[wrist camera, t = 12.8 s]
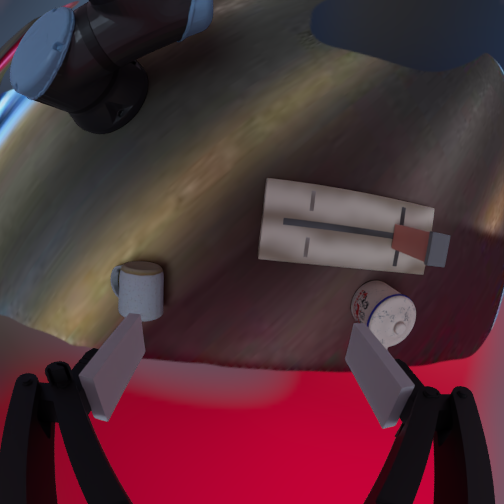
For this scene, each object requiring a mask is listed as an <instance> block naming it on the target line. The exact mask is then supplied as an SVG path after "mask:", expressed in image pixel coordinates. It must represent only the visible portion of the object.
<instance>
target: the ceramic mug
mask: <svg viewBox="0 0 504 504" xmlns="http://www.w3.org/2000/svg"><path fill="white" fill-rule="evenodd" d="M120 269H121V271H120V277H119V286H118V274H119V270H120ZM111 286H112V289H113V291H114V293H115V294H116V296H117V297H118V298H119V306H118V309H119V313H120V314H121V315H122V316H124V317H125V318H126V316H127V315H128V314H129V313H134V314H141V321H151V320H155V319H157V318H159V317H161V316H162V314H163V286H164V274H163V269H162V268H161V267H160V266H159V265H158V264H155V263H151V262H146V261H132V262H127V263H125V264H124V265H119V266H116V267H115V268H114V269H113V270H112V273H111Z"/></svg>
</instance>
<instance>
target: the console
mask: <svg viewBox="0 0 504 504" xmlns="http://www.w3.org/2000/svg"><path fill="white" fill-rule="evenodd" d="M433 217H434V208H430V207H426V206H422V205H418V204H414V203H410V202H405V201H401V200H396V199H392V198H387V197H382V196H377V195H372V194H367V193H362V192H357V191H351V190H346V189H340V188H334V187H328V186H322V185H316V184H309V183H302V182H295V181H288V180H280V179H272V178H267V179H266V185H265V194H264V203H263V212H262V220H261V229H260V238H259V247H258V259H264V260H274V261H284V262H294V263H305V264H315V265H325V266H336V267H346V268H357V269H367V270H378V271H389V272H400V273H411V274H422V275H423V273H424V269H425V264H424V262H423V261H421V260H418V259H416V258H414V257H411V256H409V255H407V254H404V253H402V252H399V251H397V250H395V249H392V242H393V236H394V230H395V224H398V225H403V226H409V227H413V228H417V229H421V230H425V231H429V232H430V231H432V224H433Z"/></svg>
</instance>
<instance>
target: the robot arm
mask: <svg viewBox="0 0 504 504" xmlns="http://www.w3.org/2000/svg"><path fill="white" fill-rule="evenodd" d="M212 18H213V0H89V2H87V3H85V4H84V5H82V6H81V7H79V8H77V9H76V10H74V11H73V10H72V9H70V8H66V7H59V8H55V9H52V10H50V11H48V12H47V13H46V14H44V15H43V16H41V17H40V18H39V19H38V20H37V21H36V22H35V23H34V24H33V25H32V26H31V27H30V29H29V30H28V31H27V33H26V34H25V35H24V37H23V38H22V40H21V42H20V44H19V46H18V48H17V50H16V52H15V54H14V57H13V60H12V64H11V69H10V81H11V84H12V87H13V88H14V90H15V91H16V92H18V93H20V94H22V95H24V96H26V97H27V98H28V99H31V100H34V101H37V102H40V103H43V104H46V105H49V106H52V107H55V108H58V109H60V110H63V111H66V112H68V113H69V114H70V116H71V117H72V118H73V119H74V121H75V123H76V124H77V125H78V126H79V127H80V128H82V129H84V130H86V131H89V132H91V133H95V134H105V133H110V132H113V131H115V130H117V129H119V128H121V127H122V126H124V125H125V124H126V123H128V122H129V121H130V120H131V119H132V118H133V117H134V116H135V115H136V113H137V112H138V111H139V109H140V108H141V106H142V104H143V102H144V100H145V97H146V94H147V89H148V78H147V74H146V72H145V70H144V68H143V67H142V66H141V65H140V64H139V63H138V62H137V61H136V59H138V58H140V57H142V56H144V55H146V54H149V53H151V52H153V51H155V50H157V49H160V48H162V47H164V46H167V45H169V44H171V43H174V42H176V41H177V42H181V41H183V40H184V39H185V38H187V37H189V36H192V35H194V34H197V33H200V32H202V31H204V30H205V29H207V27H208V26H209V25H210V23H211V21H212ZM144 353H145V346H144V338H143V331H142V322H141V314H134V313H129V314H128V315H127V316H126V318H125V319H124V320H123V321H122V322H121V324H120V325H119V326H118V327H117V328H116V329H115V331H114V332H113V333H112V334H111V335H110V337H109V338H108V339H107V340H106V342H105V343H104V344H103V345H102V346H101V348H100V349H96V348H93V349H91V350H89V351H88V352H86V353H85V355H84V356H83V357H82V359H80V360H79V362H78V363H77V364H76V365H75V366H74V368H73V369H72V370H71V368H70V366H69V364H67V363H65V362H61V361H59V362H54V363H51V364H49V365H48V366H47V367H46V369H45V374H46V376H47V379H48V381H49V383H41V382H39V381H38V378H37V377H36V375H34V374H30V373H26V374H22V375H20V376H19V377H18V378H17V380H16V382H15V386H14V389H13V393H12V396H11V400H10V404H9V408H8V412H7V417H6V421H5V426H4V431H3V437H2V443H1V449H0V504H57V495H56V483H55V463H54V437H55V422H57V423H59V427H60V430H61V434H62V437H63V441H64V444H65V447H66V450H67V453H68V456H69V459H70V462H71V465H72V467H73V470H74V473H75V475H76V478H77V480H78V483H79V485H80V487H81V490H82V492H83V494H84V496H85V499H86V501H87V503H88V504H133V503H132V502H131V500H130V498H129V497H128V495H127V494H126V492H125V490H124V489H123V487H122V485H121V483H120V482H119V480H118V478H117V476H116V474H115V473H114V471H113V469H112V467H111V465H110V463H109V461H108V459H107V457H106V455H105V453H104V451H103V449H102V447H101V444H100V442H99V440H98V438H97V435H96V433H95V431H94V428H93V426H92V424H91V421H90V419H89V416H88V414H89V413H90V411H92V413H93V415H94V418H97V419H100V420H104V421H107V422H108V420H109V419H110V417H111V415H112V413H113V411H114V409H115V407H116V405H117V403H118V401H119V399H120V397H121V395H122V394H123V391H124V390H125V388H126V386H127V384H128V382H129V381H130V379H131V377H132V375H133V373H134V371H135V369H136V368H137V366H138V364H139V362H140V360H141V359H142V357H143V355H144ZM345 360H346V362H347V364H348V366H349V367H350V369H351V371H352V373H353V375H354V376H355V378H356V380H357V382H358V384H359V386H360V387H361V389H362V391H363V393H364V395H365V397H366V398H367V400H368V402H369V404H370V406H371V408H372V409H373V412H374V413H375V415H376V417H377V419H378V421H379V423H380V425H381V427H382V428H387V427H391V426H395V425H396V423H397V421H398V419H399V417H400V419H401V421H402V424H401V426H400V428H399V430H398V431H397V433H396V435H395V437H396V439H395V441H394V443H393V446H392V448H391V451H390V453H389V455H388V457H387V459H386V461H385V464H384V466H383V468H382V470H381V472H380V474H379V476H378V478H377V480H376V482H375V484H374V486H373V488H372V489H371V491H370V493H369V495H368V497H367V498H366V500H365V502H364V504H413V501H414V499H415V496H416V493H417V490H418V488H419V485H420V482H421V479H422V476H423V473H424V470H425V466H426V463H427V460H428V456H429V453H430V449H431V445H432V441H433V443H434V473H435V474H434V475H435V476H434V504H495V496H494V486H493V479H492V471H491V465H490V459H489V454H488V449H487V445H486V440H485V436H484V432H483V428H482V424H481V420H480V417H479V413H478V410H477V406H476V403H475V400H474V397H473V394H472V392H471V391H470V390H469V389H468V388H466V387H462V386H459V387H455V388H454V389H453V391H452V393H451V394H440V393H439V391H438V390H437V389H435V388H433V387H429V386H426V387H425V386H424V385H423V384H422V383H421V381H420V380H419V379H418V378H417V377H416V375H415V374H413V372H412V371H411V370H410V368H409V367H408V366H407V365H406V363H404V362H403V361H401V360H400V359H394V358H393V357H392V356H391V355H390V353H389V352H388V351H387V350H386V348H385V347H384V346H383V345H382V344H381V342H380V341H379V340H378V339H377V338H376V336H375V335H374V334H373V333H372V332H371V330H370V329H369V328H368V327H367V326H366V324H365V323H354V324H353V329H352V333H351V338H350V342H349V346H348V350H347V354H346V358H345Z"/></svg>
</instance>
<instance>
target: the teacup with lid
mask: <svg viewBox="0 0 504 504" xmlns="http://www.w3.org/2000/svg"><path fill="white" fill-rule="evenodd" d="M351 311H352V315H353V317H354V318H355V319H356V321H357V322H358V323H365V324H366V326H367V327H368V328H369V329H370V330H371V332H372V333H373V334H374V335H375V336H376V338H377V339H378V340H379V341H380V342H381V344H382V345H383V346H384V347H385V348H386V350H387V349H388V347H389V346H393V345H396V344H398V343H399V342H401V341H402V340H403V339H405V338H406V337H407V335H408V334H409V333H410V331H411V330H412V328H413V326H414V323H415V319H416V309H415V306H414V304H413V302H412V300H411V299H410V298H409V297H407V296H405V295H403V294H400V293H399V292H398V291H396V290H395V289H393V288H392V287H390V286H389V285H387V284H386V283H384V282H382V281H378V280H375V281H370V282H367V283H365V284H364V285H362V286H361V287H360V288H359V289H358V290H357V291H356V293H355V295H354V297H353V299H352V303H351Z"/></svg>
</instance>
